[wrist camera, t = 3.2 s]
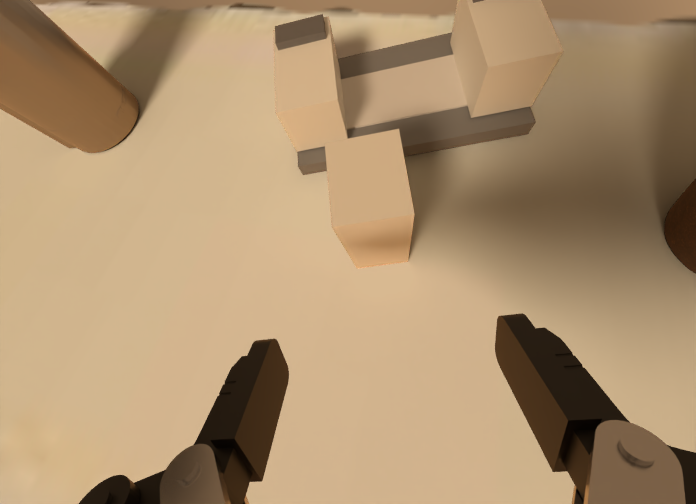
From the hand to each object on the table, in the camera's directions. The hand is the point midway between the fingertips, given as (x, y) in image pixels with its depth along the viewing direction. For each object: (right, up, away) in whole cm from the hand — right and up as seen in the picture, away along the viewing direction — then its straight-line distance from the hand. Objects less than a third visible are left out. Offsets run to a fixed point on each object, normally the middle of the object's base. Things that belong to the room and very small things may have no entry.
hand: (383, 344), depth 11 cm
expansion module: (+1, +5, +15) cm, 16 cm away
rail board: (+4, +18, +18) cm, 26 cm away
